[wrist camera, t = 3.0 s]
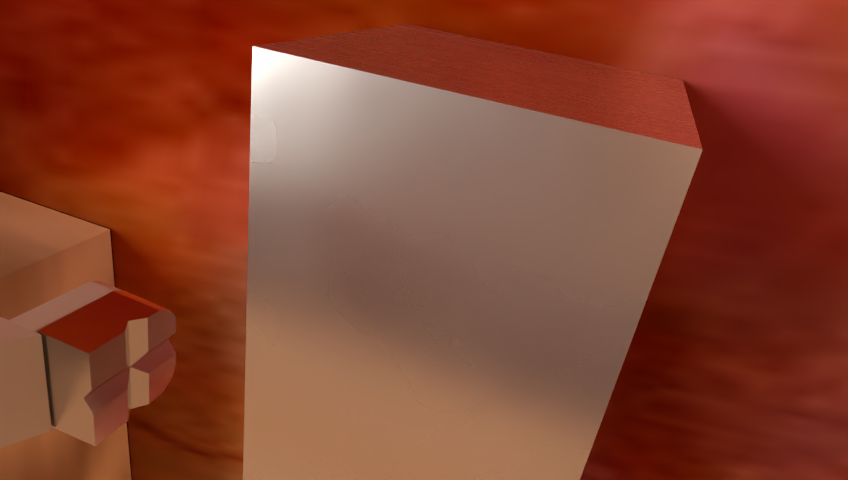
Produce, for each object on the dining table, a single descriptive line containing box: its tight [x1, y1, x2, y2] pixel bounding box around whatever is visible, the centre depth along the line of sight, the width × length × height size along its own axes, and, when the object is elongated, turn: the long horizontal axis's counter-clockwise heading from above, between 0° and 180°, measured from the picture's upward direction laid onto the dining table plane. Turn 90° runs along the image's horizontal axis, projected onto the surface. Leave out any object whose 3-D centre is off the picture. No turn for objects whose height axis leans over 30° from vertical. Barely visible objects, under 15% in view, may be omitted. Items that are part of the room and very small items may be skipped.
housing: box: [243, 24, 703, 480], centre depth 10 cm, size 9×5×5 cm, turn 171°
